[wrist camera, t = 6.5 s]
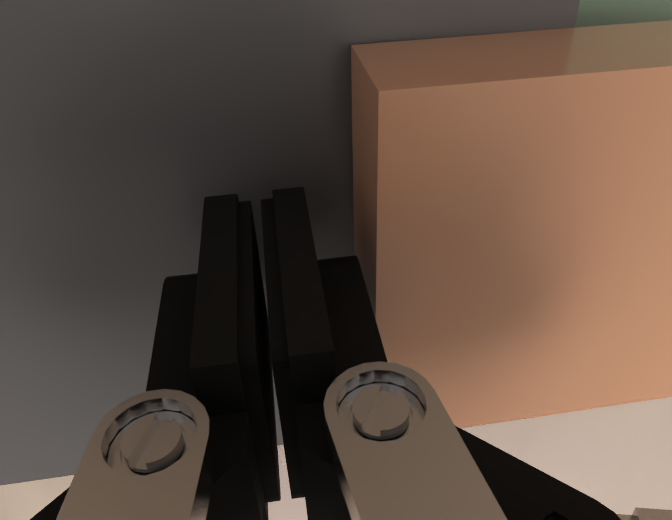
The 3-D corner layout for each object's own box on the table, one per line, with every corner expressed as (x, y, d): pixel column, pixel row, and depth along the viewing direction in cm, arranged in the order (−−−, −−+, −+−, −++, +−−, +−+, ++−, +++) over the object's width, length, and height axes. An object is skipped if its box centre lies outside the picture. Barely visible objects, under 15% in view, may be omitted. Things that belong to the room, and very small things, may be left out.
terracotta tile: (351, 45, 9) (379, 90, 7) (768, 12, 10) (875, 48, 8) (355, 366, 13) (374, 440, 12) (649, 326, 14) (705, 391, 12)
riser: (-841, -88, 8) (-1182, -62, 6) (536, -178, 10) (612, -179, 8) (-276, 444, 15) (-352, 536, 13) (473, 343, 17) (505, 412, 15)
